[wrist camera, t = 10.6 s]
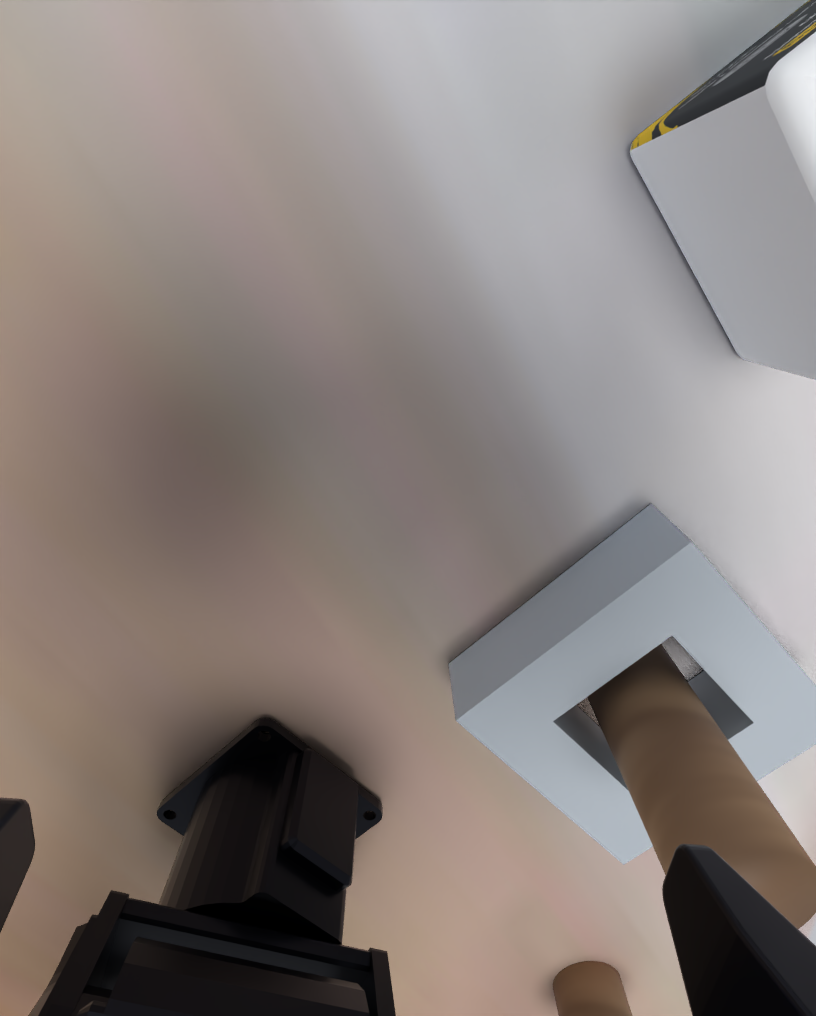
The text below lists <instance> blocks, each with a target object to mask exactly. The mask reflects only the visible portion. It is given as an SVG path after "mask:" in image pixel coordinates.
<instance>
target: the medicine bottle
mask: <svg viewBox="0 0 816 1016" xmlns="http://www.w3.org/2000/svg"><path fill="white" fill-rule="evenodd" d="M630 154H631V158H632V160H633V162H634V164H635V166H636V167H637V169H638V171H639V173H640V175H641V177H642V179H643V180H644V182H645V184H646V186H647V188H648V190H649V191H650V193H651V195H652V197H653V199H654V201H655V203H656V204H657V206H658V208H659V210H660V212H661V214H662V215H663V217H664V219H665V221H666V223H667V225H668V227H669V228H670V230H671V232H672V234H673V236H674V238H675V240H676V241H677V243H678V245H679V247H680V249H681V251H682V252H683V254H684V256H685V258H686V260H687V262H688V264H689V265H690V267H691V269H692V271H693V273H694V275H695V277H696V278H697V280H698V282H699V284H700V286H701V288H702V289H703V291H704V293H705V295H706V297H707V299H708V301H709V302H710V304H711V306H712V308H713V310H714V312H715V314H716V315H717V317H718V319H719V321H720V323H721V325H722V326H723V328H724V330H725V332H726V334H727V336H728V338H729V339H730V341H731V343H732V345H733V347H734V349H735V350H736V352H737V354H738V355H739V356H740V357H741V358H742V359H743V360H746V361H750V362H753V363H757V364H761V365H764V366H768V367H771V368H775V369H779V370H782V371H786V372H789V373H793V374H796V375H800V376H804V377H807V378H811V379H814V380H816V0H809V1H808V2H806V3H805V4H804V5H803V6H801V7H800V8H799V9H797V10H796V11H795V12H794V13H792V14H791V15H790V16H789V17H787V18H786V19H785V20H784V21H782V22H781V23H780V24H778V25H777V26H776V27H775V28H773V29H772V30H771V31H770V32H768V33H767V34H766V35H764V36H763V37H762V38H761V39H759V40H758V41H757V42H756V43H754V44H753V45H752V46H751V47H749V48H748V49H747V50H745V51H744V52H743V53H742V54H740V55H739V56H738V57H737V58H735V59H734V60H733V61H731V62H730V63H729V64H728V65H726V66H725V67H724V68H723V69H721V70H720V71H719V72H718V73H716V74H715V75H714V76H712V77H711V78H710V79H709V80H707V81H706V82H705V83H704V84H702V85H701V86H700V87H699V88H697V89H696V90H695V91H693V92H692V93H691V94H690V95H688V96H687V97H686V98H685V99H683V100H682V101H681V102H679V103H678V104H677V105H676V106H674V107H673V108H672V109H671V110H669V111H668V112H667V113H666V114H664V115H663V116H662V117H660V118H659V119H658V120H657V121H655V122H654V123H653V124H652V125H650V126H649V127H648V128H646V129H645V130H644V131H643V132H641V133H640V134H639V135H638V136H637V137H636V138H635V139H634V141H633V142H632V144H631V149H630Z"/></svg>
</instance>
